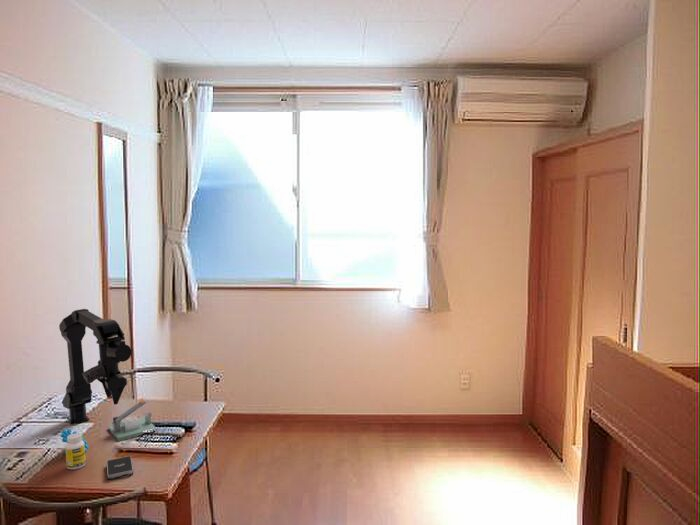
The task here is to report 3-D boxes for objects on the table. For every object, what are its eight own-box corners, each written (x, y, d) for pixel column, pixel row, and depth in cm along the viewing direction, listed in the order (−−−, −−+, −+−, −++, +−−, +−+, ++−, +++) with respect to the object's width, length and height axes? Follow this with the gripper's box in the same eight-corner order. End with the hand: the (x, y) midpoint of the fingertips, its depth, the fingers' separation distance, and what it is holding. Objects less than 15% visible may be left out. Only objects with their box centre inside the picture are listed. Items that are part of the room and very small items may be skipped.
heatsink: (121, 426, 199) (120, 419, 199) (135, 422, 202) (135, 415, 202) (125, 431, 194) (125, 423, 194) (140, 427, 197) (139, 420, 197)
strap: (118, 422, 194) (115, 419, 194) (116, 420, 196) (114, 417, 195) (146, 403, 199) (143, 399, 199) (144, 401, 201) (142, 398, 201)
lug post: (145, 425, 203) (144, 410, 202) (148, 424, 203) (147, 409, 203) (148, 428, 199) (147, 413, 199) (152, 427, 200) (151, 412, 199)
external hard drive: (108, 482, 161) (107, 475, 161) (107, 466, 171) (106, 460, 171) (133, 476, 164) (132, 470, 164) (131, 461, 174) (130, 455, 174)
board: (108, 428, 200) (108, 425, 200) (145, 419, 208) (144, 416, 208) (118, 441, 189) (118, 437, 189) (156, 431, 197) (156, 427, 196)
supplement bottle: (73, 471, 168) (70, 440, 167) (63, 467, 170) (60, 437, 169) (89, 464, 172) (87, 434, 171) (79, 460, 175) (77, 430, 174)
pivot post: (112, 432, 196) (111, 417, 196) (118, 431, 198) (117, 416, 197) (115, 436, 193) (114, 421, 192) (121, 434, 194) (120, 419, 194)
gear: (81, 453, 176) (58, 432, 176) (68, 467, 176) (45, 446, 176) (95, 443, 187) (73, 423, 187) (83, 456, 187) (61, 437, 187)
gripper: (77, 356, 192) (81, 399, 194) (90, 367, 178) (93, 414, 179) (111, 350, 199) (114, 392, 201) (125, 360, 184) (129, 405, 186)
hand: (112, 400), depth 192 cm, fingers open, 9 cm apart
